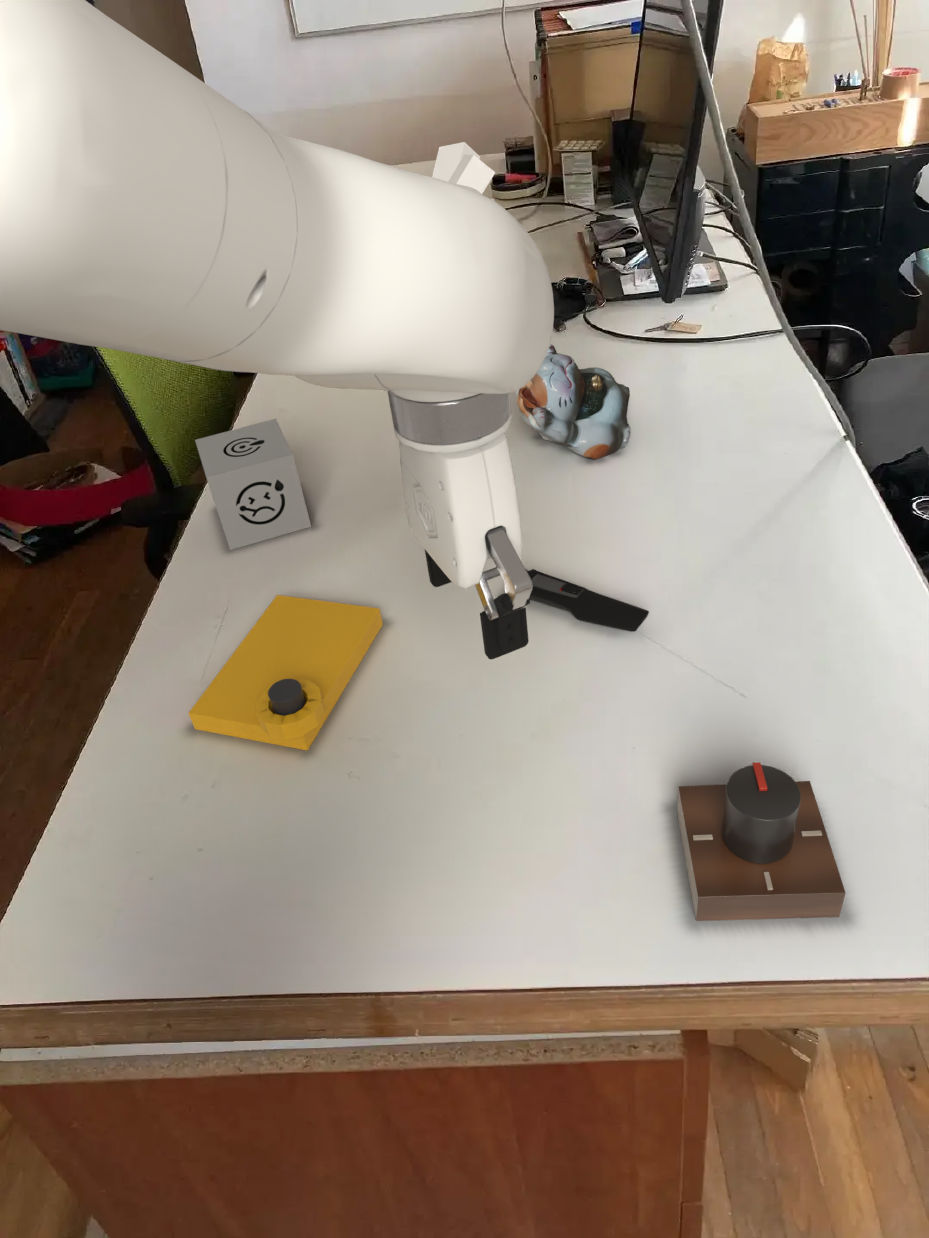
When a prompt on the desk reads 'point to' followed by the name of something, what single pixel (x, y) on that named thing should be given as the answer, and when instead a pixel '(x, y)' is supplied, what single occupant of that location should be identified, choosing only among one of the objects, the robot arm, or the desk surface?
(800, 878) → the dial panel
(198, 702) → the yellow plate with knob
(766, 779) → the dial knob
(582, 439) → the lucky cat figurine
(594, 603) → the electric trimmer
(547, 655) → the desk surface
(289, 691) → the black cylindrical knob
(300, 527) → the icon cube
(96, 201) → the robot arm
